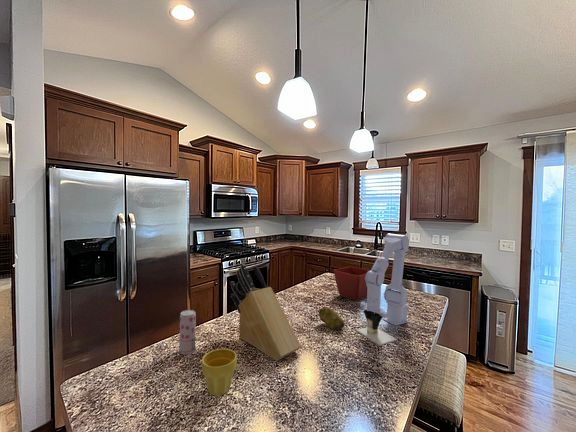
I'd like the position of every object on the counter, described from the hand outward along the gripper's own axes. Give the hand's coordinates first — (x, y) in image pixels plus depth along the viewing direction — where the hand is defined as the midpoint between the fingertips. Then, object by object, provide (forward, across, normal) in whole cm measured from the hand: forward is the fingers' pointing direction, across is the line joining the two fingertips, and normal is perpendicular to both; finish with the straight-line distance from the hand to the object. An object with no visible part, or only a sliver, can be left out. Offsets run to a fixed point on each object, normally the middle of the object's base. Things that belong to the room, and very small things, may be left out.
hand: (372, 327), depth 117 cm
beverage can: (+3, -20, -76) cm, 79 cm away
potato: (+3, -14, -13) cm, 19 cm away
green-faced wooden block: (+2, 0, 0) cm, 2 cm away
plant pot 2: (+3, -42, +26) cm, 49 cm away
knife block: (+3, -15, -48) cm, 50 cm away
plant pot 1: (+3, +6, -70) cm, 70 cm away
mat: (+3, +2, 0) cm, 3 cm away
